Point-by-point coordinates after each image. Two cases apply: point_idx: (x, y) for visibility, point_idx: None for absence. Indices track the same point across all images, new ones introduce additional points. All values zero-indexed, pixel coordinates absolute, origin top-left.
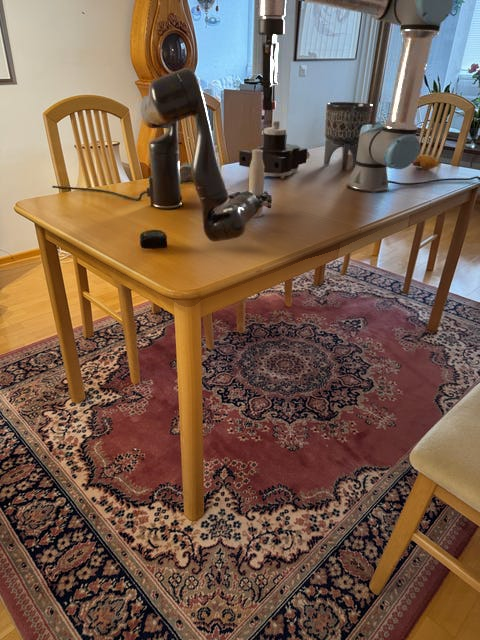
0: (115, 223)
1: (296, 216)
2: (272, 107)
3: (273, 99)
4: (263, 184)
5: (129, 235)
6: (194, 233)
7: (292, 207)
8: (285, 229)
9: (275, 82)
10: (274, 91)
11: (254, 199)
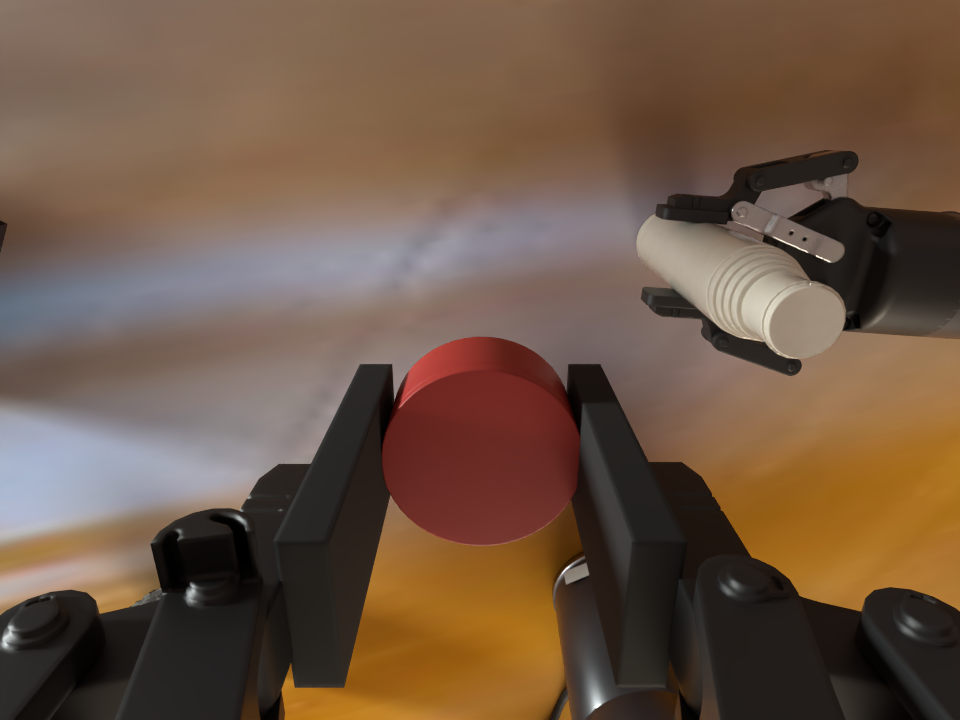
0: None
1: (650, 34)
2: (552, 373)
3: (376, 426)
4: (722, 229)
5: (953, 588)
6: (928, 413)
7: (497, 77)
8: (860, 63)
9: (231, 580)
10: (355, 478)
11: (941, 231)
